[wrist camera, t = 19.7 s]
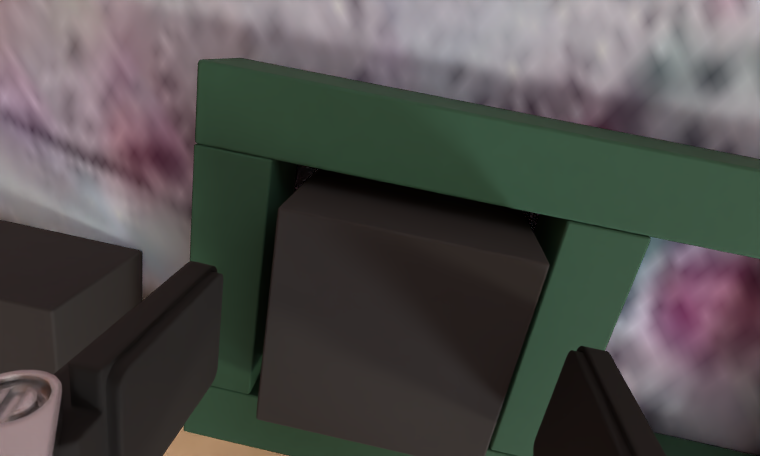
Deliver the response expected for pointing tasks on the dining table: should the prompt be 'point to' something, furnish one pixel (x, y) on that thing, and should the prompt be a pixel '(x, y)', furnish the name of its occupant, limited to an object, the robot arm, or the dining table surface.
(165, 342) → the robot arm
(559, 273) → the green rectangular frame
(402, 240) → the pad
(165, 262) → the dining table surface
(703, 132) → the dining table surface
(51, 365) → the pad
